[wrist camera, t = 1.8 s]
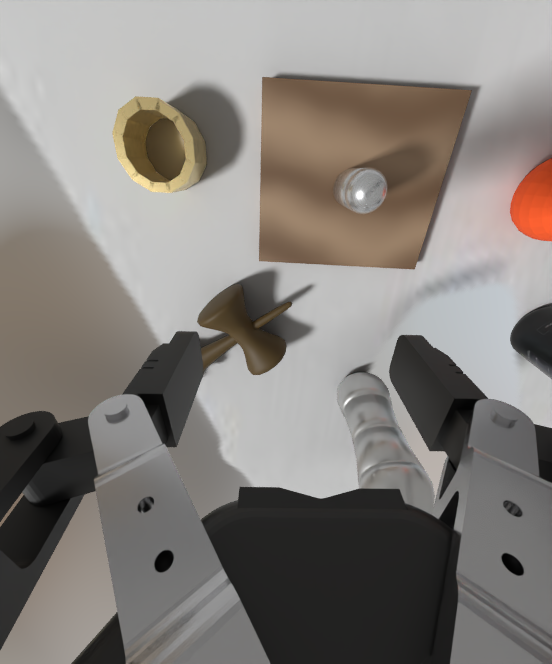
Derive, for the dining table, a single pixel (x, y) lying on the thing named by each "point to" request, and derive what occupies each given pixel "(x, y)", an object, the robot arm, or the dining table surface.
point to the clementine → (534, 203)
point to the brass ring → (132, 145)
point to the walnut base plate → (352, 152)
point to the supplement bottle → (535, 338)
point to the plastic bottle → (382, 441)
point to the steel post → (360, 189)
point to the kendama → (241, 331)
